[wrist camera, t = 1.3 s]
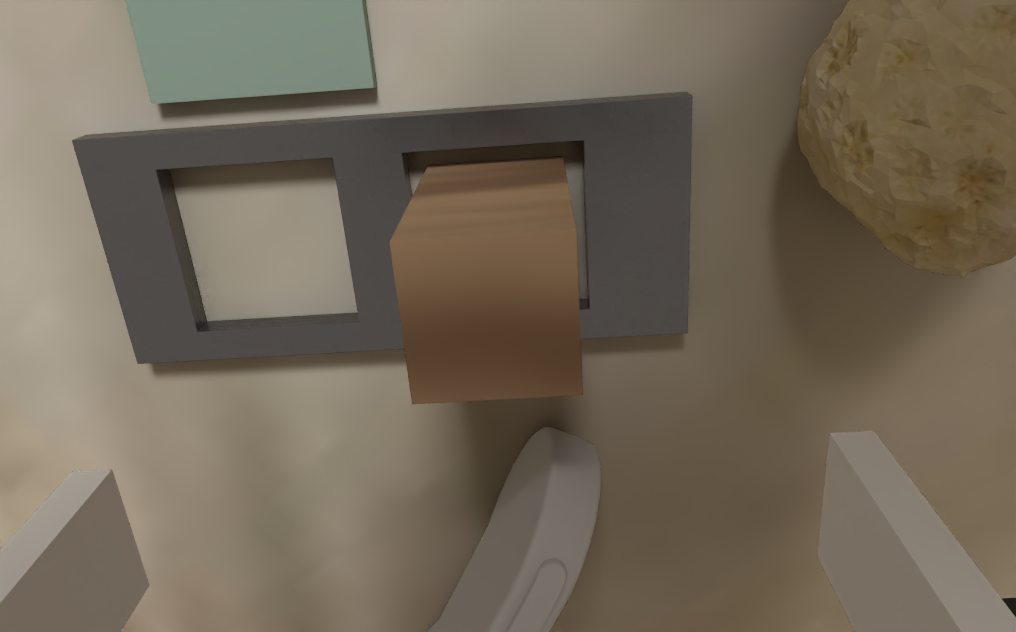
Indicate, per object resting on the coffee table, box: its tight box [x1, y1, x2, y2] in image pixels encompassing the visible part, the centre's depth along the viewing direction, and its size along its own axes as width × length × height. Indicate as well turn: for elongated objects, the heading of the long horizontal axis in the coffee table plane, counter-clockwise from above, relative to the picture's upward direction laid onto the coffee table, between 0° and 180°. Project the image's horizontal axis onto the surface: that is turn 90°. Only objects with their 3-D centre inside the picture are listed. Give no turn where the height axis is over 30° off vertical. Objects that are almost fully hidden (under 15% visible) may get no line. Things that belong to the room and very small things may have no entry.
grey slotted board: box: [72, 92, 692, 364], centre depth 30 cm, size 9×22×1 cm, turn 94°
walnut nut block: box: [390, 156, 583, 404], centre depth 26 cm, size 5×5×9 cm
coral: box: [797, 0, 1016, 277], centre depth 23 cm, size 10×10×10 cm
